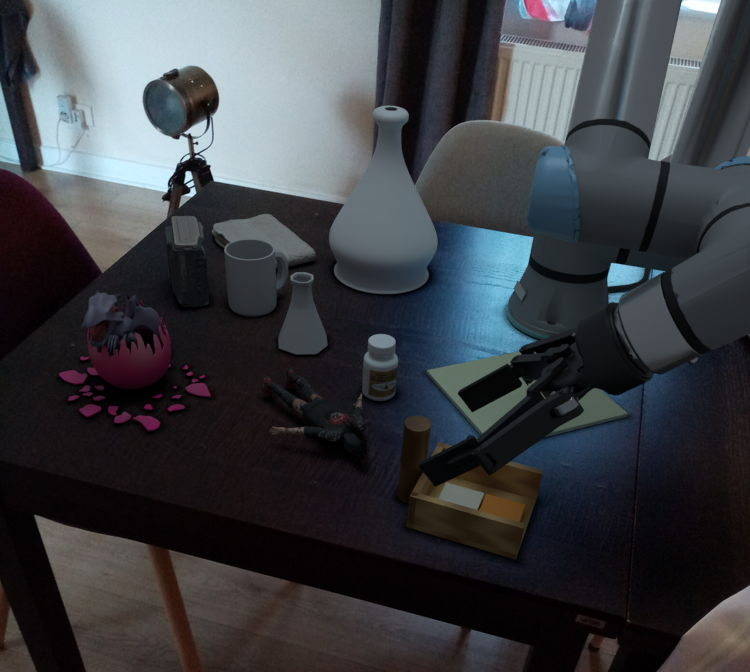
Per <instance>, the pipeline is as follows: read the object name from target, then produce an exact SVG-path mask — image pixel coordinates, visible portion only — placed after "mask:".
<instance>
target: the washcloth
mask: <svg viewBox="0 0 750 672" xmlns="http://www.w3.org/2000/svg"><path fill="white" fill-rule="evenodd" d="M212 228H213V229H212V230H211V234H212V235H213V236H214V241H215V242H216V243H217V245H219V246H220V247H221V248H223V249H224V248H225V246H226V245H227V244H229V243H231V242H233V241H236V240H241V239H258V240H263V241H266V242H269V243H271V244H272V245H273V246H274V248H275V249H278V250H281V251H282V252H283V253H284V255H285V257H286V259H287V262H288V267H294V266H298V265H303V264H307V263H310V262H314V261H315V260H316V259H317V254H316V251H315V249H314V248H313V247H311V246H310V245H309V243H307V242H305V241H304V240H303V239H301V238H300V237H299V236H298V235H297V234H295V232H294V231H292V230H291V229H290V228H289V227H288V226H287V225H284V224H283V223H282V222H280V221H279V220H278V219H277V218H276V217H274V216H273V215H272V214H270V213H263V214H259V215H256V216H253V217H249V218H242V219H239V218H238V219H228V220H225V221H221V222H217V223H214V224H213V227H212ZM275 262H276V270H278V265H277V261H276V260H275Z"/></svg>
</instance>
